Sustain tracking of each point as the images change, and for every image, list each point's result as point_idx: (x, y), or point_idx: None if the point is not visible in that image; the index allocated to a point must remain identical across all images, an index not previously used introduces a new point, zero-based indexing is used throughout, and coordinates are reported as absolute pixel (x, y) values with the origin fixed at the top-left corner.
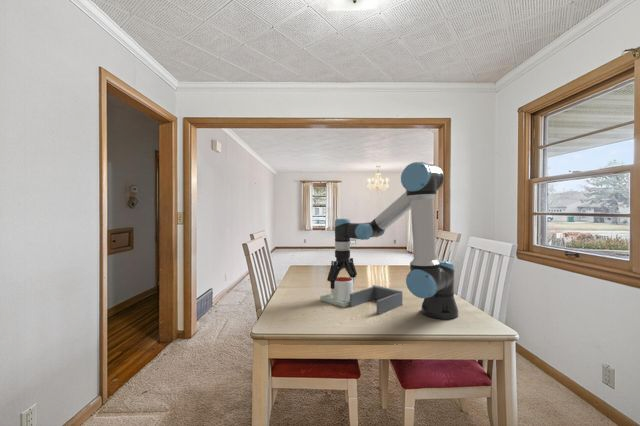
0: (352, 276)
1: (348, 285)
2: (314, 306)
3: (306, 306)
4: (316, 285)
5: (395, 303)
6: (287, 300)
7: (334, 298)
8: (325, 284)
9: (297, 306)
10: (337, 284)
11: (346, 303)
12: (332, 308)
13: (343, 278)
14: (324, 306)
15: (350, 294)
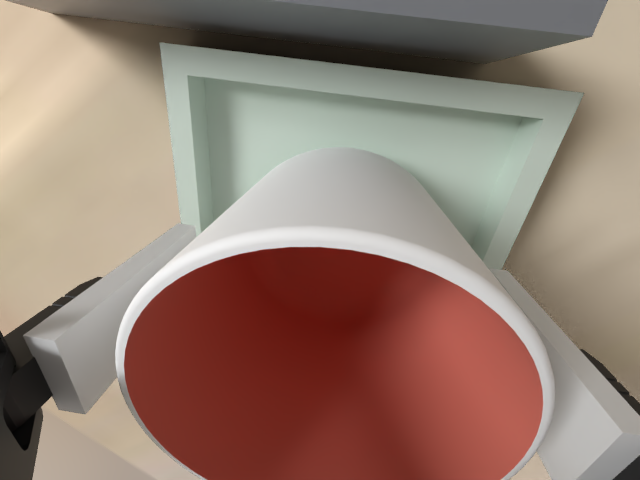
0: (14, 372)
1: (408, 210)
2: (600, 322)
3: (619, 361)
4: (189, 477)
5: None
6: (527, 474)
7: (425, 281)
8: (136, 457)
9: (637, 399)
10: (512, 374)
11: (535, 87)
12: (612, 182)
13: (188, 435)
14: (573, 267)
15: (595, 16)
